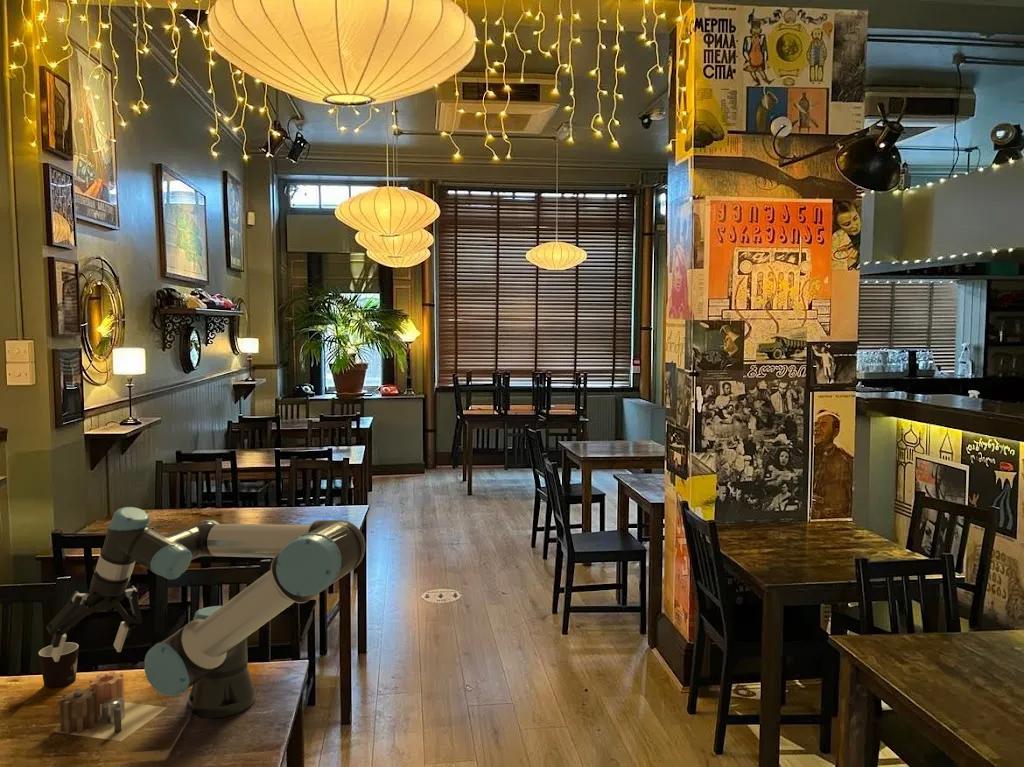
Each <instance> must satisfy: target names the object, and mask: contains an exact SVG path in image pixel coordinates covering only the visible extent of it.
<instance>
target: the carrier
mask: <svg viewBox="0 0 1024 767" xmlns="http://www.w3.org/2000/svg"><path fill="white" fill-rule="evenodd" d="M124 706H125V717H124V718H123V720H122V721H121V708H115V709H114V724H111V723H108V724H107V725H103V723H100V716H99V714H97V717H98V723H95V727H94V728H92V729H86V730H83V733H79V734H77V732H72V733H70V734H69V735H73V736H79V737H85V738H87V737H88V738H93V739H100V740H109V741H115V742H122V741H124V740H125V739H127V737H129V736H131V735H132V734H134V733H135V732H136V731H138V729H141V728H142V727H143V726H145V724H147V723H149V722H150V721H151V720H153V718H156V717H157V716H158V715H159V714H161V713H162V712H164V711H165V710H166V709H168V707H167V706H157V705H151V704H143V703H136V702H135V703H134V702H127V701H124ZM54 733H57V734H58V733H59V734H65V732H64V731H61V727H59V728H58V729H56V730H54Z"/></svg>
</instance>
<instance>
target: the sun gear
mask: <svg viewBox="0 0 1024 767" xmlns="http://www.w3.org/2000/svg"><path fill="white" fill-rule="evenodd" d="M124 702H125V698H124V699H122V697H117V698H113V697H112V698H109V700H103V701H102V702H101V704H100V723H103V725H107V724H108V723H111V724H114V709H115V708H121V721H122V720H123V718H124V717H125V706H124Z"/></svg>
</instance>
